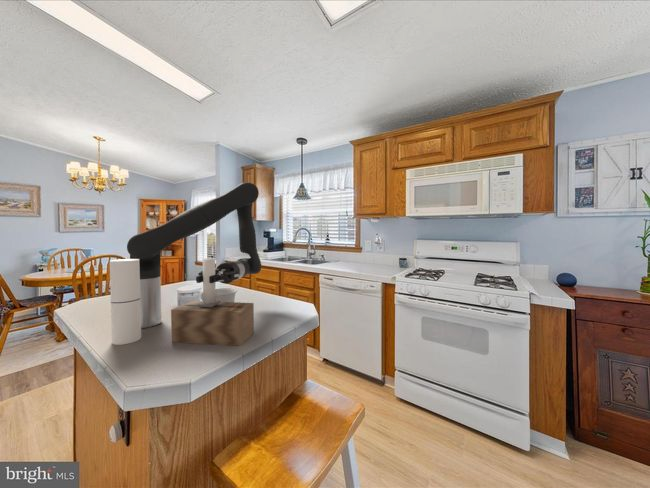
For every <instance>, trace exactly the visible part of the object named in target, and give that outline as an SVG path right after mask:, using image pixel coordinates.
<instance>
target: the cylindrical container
mask: <svg viewBox="0 0 650 488" xmlns="http://www.w3.org/2000/svg"><path fill="white" fill-rule="evenodd" d="M109 284H110V285H109V287H110V288H109V289H110V314H111V315H110V319H111V344H112V345H114V346H121V345H127V344H131V343H135V342H137V341H140V340H141V339H142V328H141V305H140V266H139V259H130V258H125V259H124V258H121V259H111V260H109Z"/></svg>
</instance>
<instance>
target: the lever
mask: <svg viewBox="0 0 650 488" xmlns="http://www.w3.org/2000/svg"><path fill="white" fill-rule="evenodd" d="M215 269H216V258H214V257H209V258H202V271H203V282H202V292H203V302H202V303H200V304H198V307H213V306H215V305H217V304H219V303H220V301H219V300H216V289H217V288H216V282H215V283H209V277H210V276H212V275H215Z"/></svg>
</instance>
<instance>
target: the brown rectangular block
mask: <svg viewBox="0 0 650 488" xmlns="http://www.w3.org/2000/svg"><path fill="white" fill-rule="evenodd" d="M202 302H203V301H202V300H200V301H199V300H198V301H197V300H191V301H188V302H186V303H184V304H182V305H180V306H176V307H173V308H171V309H170V316H171V317H170V318H171V319H170V320H171V321H170V322H171V326H170V327H171V343H182V344H183V343H185V344H198V345H199V344H204V345H221V346H242V345H243V344H244V343H245V342H246V341H247V340H248V339H249V338H250V337H251V336H252V335H253V334H254V331H255V328H254V327H255V324H254V322H255V321H254V319H255V317H254V315H255V311H254V308H255V307H254V302H235V301H234V302H220V303H219V304H217V305H215V306H213V307H198V304H200V303H202Z"/></svg>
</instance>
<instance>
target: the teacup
mask: <svg viewBox="0 0 650 488" xmlns="http://www.w3.org/2000/svg"><path fill="white" fill-rule="evenodd" d="M237 292H238V290H237V289H236V288H232V287H231V288H229V287H226V288H216V300H219V301H220V302H235V298H236V293H237ZM200 301H203V291H202V292H201V293H200Z"/></svg>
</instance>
